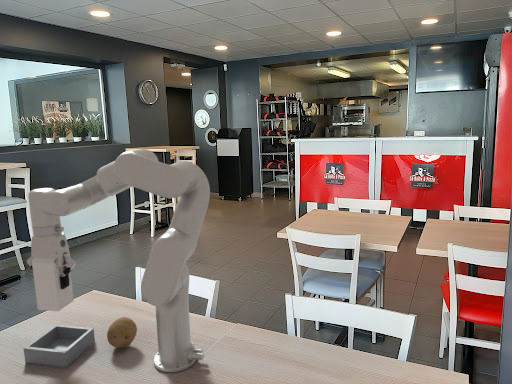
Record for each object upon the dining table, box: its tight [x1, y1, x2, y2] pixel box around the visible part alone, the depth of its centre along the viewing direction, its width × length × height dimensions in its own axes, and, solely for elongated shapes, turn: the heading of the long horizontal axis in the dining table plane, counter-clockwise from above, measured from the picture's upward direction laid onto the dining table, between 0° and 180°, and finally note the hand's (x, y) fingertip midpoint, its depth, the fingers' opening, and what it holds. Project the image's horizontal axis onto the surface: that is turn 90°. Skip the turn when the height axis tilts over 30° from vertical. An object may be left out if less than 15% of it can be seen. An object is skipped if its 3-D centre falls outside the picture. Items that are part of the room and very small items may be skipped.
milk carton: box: [32, 257, 74, 312], centre depth 119 cm, size 7×7×19 cm
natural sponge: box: [106, 316, 138, 349], centre depth 125 cm, size 9×9×10 cm
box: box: [23, 324, 96, 369], centre depth 124 cm, size 14×14×5 cm
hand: (53, 286), depth 120 cm, fingers closed on milk carton, 7 cm apart
